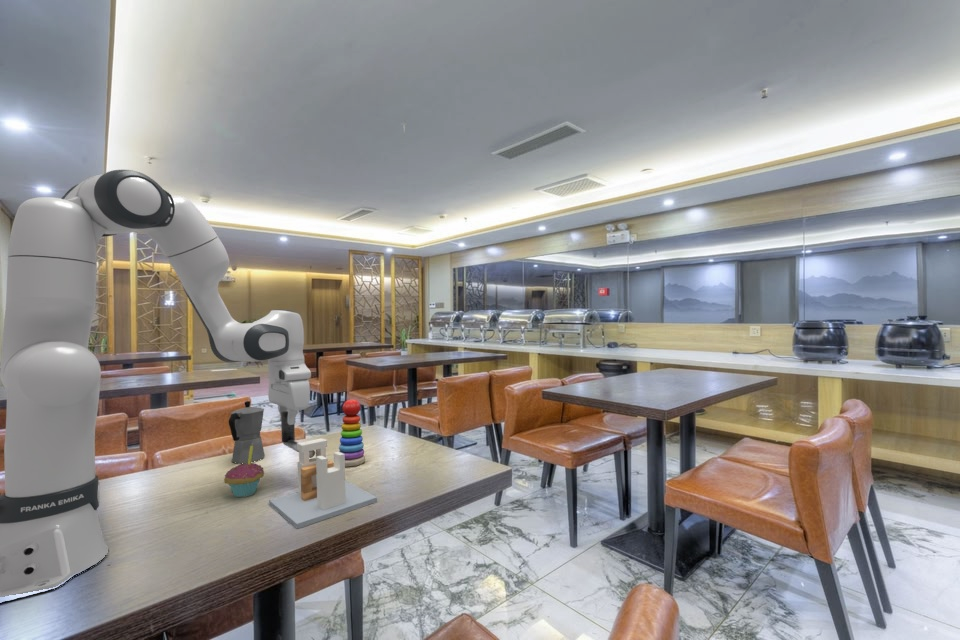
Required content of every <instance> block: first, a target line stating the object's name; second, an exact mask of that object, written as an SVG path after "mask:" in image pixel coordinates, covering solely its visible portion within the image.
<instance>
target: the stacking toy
mask: <svg viewBox="0 0 960 640" xmlns="http://www.w3.org/2000/svg"><path fill="white" fill-rule="evenodd" d="M360 411H361V404H360V402H359V401H358V400H357V399H354V398H352V399H347V400H346V401H344V402H343V405H342V412H343V414H344V416H343V417H342V423H341V424H342V425H341V429H342V430H341V431H340V436H341V437H340V439H339V443H340V444H339V446H338V449H339V450H338V452H341V453H343V454H345V468H346V467H347V468H348V467H349V468H350V467H355V466H360V465H362V464H363V463H365V460H366V456H365V455H364V454H365V450H364V447H365V446H364V445H365V444H364V441H363V439H364V438H363V436H362V434H363V430H362V429H361V427H362V425H361V422H360V421H361V416H360V415H358V414H359V413H360Z"/></svg>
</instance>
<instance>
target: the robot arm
mask: <svg viewBox="0 0 960 640" xmlns="http://www.w3.org/2000/svg"><path fill="white" fill-rule="evenodd" d="M10 231H11V232H10V236H9V243H8V251H7V272H6V292H5V293H6V294H5V295H6V296H5V297H6V298H5V310H4V321H3V329H2V330H3V331H2V341H1V352H0V383H1V384H2V386H3V387H4V389H5V390H6V411H5V412H6V414H5V415H6V416H5V417H6V418H5V436H4V437H5V438H4V444H3V446H4V447H3V451H4V452H3V453H4V455H3V457H4V493H1V492H0V597H5V596H9V595H16V594H23V593H28V592H33V591H39V590H43V589H49V588H53V587H56V586H58V585H59V584H61V583H62V582H64V581H65V580H67V579H68V578H69V577H70V576H72V575H73V574H75V573H77V572H79V571H81V570H83V569H85V568H86V567H89V566H91V565H93V564H95V563H96V562H98V561H99V560H101V559H102V558H103V557H105V555H106V554H107V553H108V554H109V552H108V549H109V547H108V545H107V543H106V541H105V539H104V534H103V531H102V528H101V523H100V518H99V512H98V511H99V510H98V509H99V507H100V503H101V489H100V488H101V486H100V481H99V476H98V474H96V445H95V444H96V441H95V440H96V426H97V425H96V424H97V420H98V412H99V402H100V393H101V392H100V391H101V376H102V368H101V364H100V361H99V360H98V358H97V356H96V355H95V354H94V353H93V352H92V351H91V350H89V342H90V334H91V329H92V323H93V318H94V314H95V310H96V302H97V301H96V299H97V297H96V296H97V274H98V273H97V269H98V268H97V267H98V263H97V262H98V259H97V257H98V253H97V248H98V246H99V242H100V240H101V238H103V237H111V236H115V235H125V234H131V233H134V232H138V231H139V232H141V233H143V234H145V235H146V236H148V237H149V238H150V239H152V240H153V242H155V244H156V245H157V247H158V248H159V250H160V251H161V252H162V255H163V256H164V257H165V259H166V260H167V262H168V263H169V265H170V267H172V269H173V270H174V272H175V274H176V276H177V277H178V279H179V280H180V283H181V286H182V289H183V291H184V293H185V295H186V297H187V299H188V300H189V302H190V304H191V306H192V307H193V309H194V311H195V312H196V314H197V316H198V318H199V320H200V321H201V322H202V325H203V327H204V329H205V330H206V333H207V336H208V340H209V345H210V349H211V351H212V353H213V355H214V356H215V357H216V358H217V359H219V360H220V361H222V362H226V363H238V362H247V363H248V362H251V363H252V362H264V361H267V365H268V366H267V370H268V374H267V375H268V379H269V380H268V392H267V395H268V401H269V403H271V404H274V405H277V409H278V412H279V419H280V421H281V412H284V411H287V412H288V418H286V419H287V424H289V425H293V424H295V425H296V417H297V414H298V411H302V410H307V409H308V407H309V405H310V392H311V391H310V389H311V388H310V387H311V386H310V381H309V379H311V378H312V372H311V370H310V369H309V367H308V366H307V365H306V363H305V361H306V360H305V355H304V350H303V349H304V345H305V331H304V329H305V328H304V323H303V319H302V316H301V314H300V313H298V312H297V311H293V310H289V309H271V310H270V312H269V313H267V314H266V315H265V316H263V317H262V318H259V319H256V320H255V321H252V322H246V323H242V322H238V321H237V320H235V319H234V318H233V316H232V315H231V313H230V312H229V310H228V307H227V306H226V304H225V302H224V300H223V299H222V297H221V294H220V292H219V283H220V282H221V280H222V279H223V278H224V277H225V275H226V274H227V272H228V270H229V267H230V258H229V254H228V252H227V250H226V247H225V246H224V244H223V242H222V240H221V239H220V237H219V236H218V234H217V233H216V231H215V230H214V228H213V227H212V225H211V224H210V222H209V221H208V219H206V217H205V216H204V214H203V213H202V211H200V210H199V209H198V207H197V206H196V205H195V204H194V203H193V202H192V201H191V200H190V199H188V198H187V197H185V196H183V195H178V194H170V192H169V191H167V190H166V189H164V188H162V186H161V185H160V184H159V183H158V182H157V181H155V180H154V179H153V178H151V177H150V176H148V175H146V174H145V173H142V172H139V171H137V170H133V169H132V170H131V169H114V170H113V169H112V170H110V171H106V172H105V173H101V174H97V175H93V176H90V177H88V178H87V179H84V180H83V181H81V182H80V183H78V184H75V185H73V186H72V187H70V189H68V190H67V192H66V193H65V194H64V195H63V196H62V197H61V198H60V197H53V196H40V197H39V196H38V197H33V198H29V199H27V200H25V201H24V202H21V204H20V205H19V206H18V208H17V211H16V214H15V216H14V219H13V223H12V226H11V230H10ZM108 554H107V555H108ZM105 558H106V557H105Z"/></svg>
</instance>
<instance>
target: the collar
mask: <svg viewBox="0 0 960 640" xmlns="http://www.w3.org/2000/svg"><path fill="white" fill-rule="evenodd" d="M331 467H334V461H331V460H328V462H327V468H331ZM316 474H317V472H316V465H312V466H307V467H303V468H301V499H302V500H304V501H307V500H310V499H314V498H317V487H315V488H312V476H313V475H316Z"/></svg>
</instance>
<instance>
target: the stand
mask: <svg viewBox="0 0 960 640" xmlns="http://www.w3.org/2000/svg"><path fill="white" fill-rule="evenodd" d="M327 448H328V440H327V439H325V438H317V439H312V440H306V441H301V442H298V443H297V450H298V451H299V452H298V461H297V492H293V493H288V494H286V495H282V496H279V497H278V496H277V497H276V498H275V497H274V498H271V499H268V505H269V506H270V507H271V508H272V509H274V510H275V511H276V512H277V513H278V514H280V515H281V516H282V517H283V518H284V519H285V520H286V521H288V523H289V524H291V525H292V526H293V527H294V528H295V529H301V528H304V527H308V526H310V525H313V524H316V523H319V522H322V521H324V520H325V521H326V520H328V519H330V518H333V517H335V516H339V515H342V514H345V513H348V512H350V511H354V510H357V509H359V508H364V507H366V506H368V505H371V504H372V505H373V504H374V503H377V502H378V497H377V496H375V495H374V494H372V493H370V492H368V491H366V490H364V489H362V488H361V487H360V486H357V485H355V484H353V483H351V482H349V481H348V480H346V467H345V454H343V453H341V452H339V451H336V452H333V463H334V467H331V468H327V462H328V461H329V460H328V459H329V458H328V457H327V450H326V449H327ZM312 450H314V451H315V457H312V458H309V451H312ZM312 465H316V472H317V474H316V475H313V476H312V488H315V487H317V498H314V499H310V500H307V501H304V500H302V499H301V468H303V467H307V466H312Z"/></svg>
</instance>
